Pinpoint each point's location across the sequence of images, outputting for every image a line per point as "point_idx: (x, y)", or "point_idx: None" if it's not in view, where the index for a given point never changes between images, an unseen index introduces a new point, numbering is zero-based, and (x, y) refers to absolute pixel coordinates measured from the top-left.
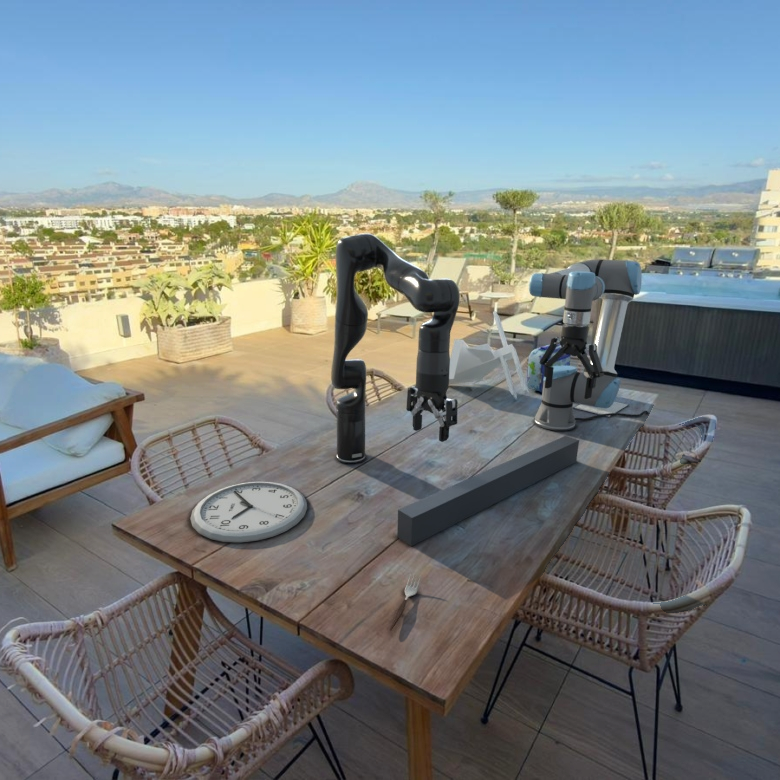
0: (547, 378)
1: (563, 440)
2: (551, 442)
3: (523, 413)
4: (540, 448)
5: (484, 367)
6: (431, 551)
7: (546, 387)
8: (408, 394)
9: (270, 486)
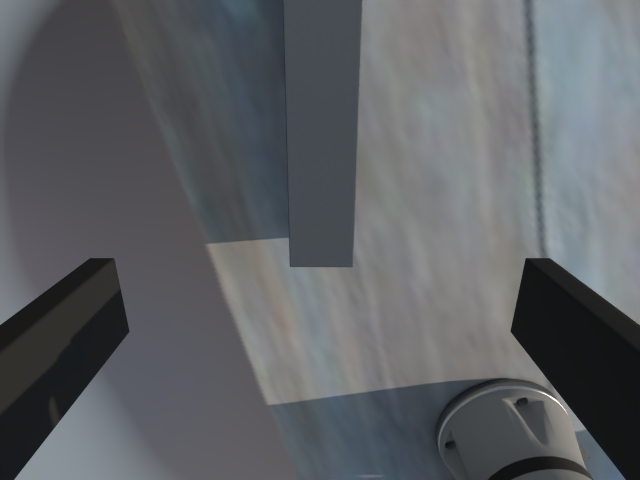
0: (599, 314)
1: (330, 215)
2: (352, 155)
3: None
4: (348, 47)
5: None
6: None
7: (535, 262)
8: None
9: None
